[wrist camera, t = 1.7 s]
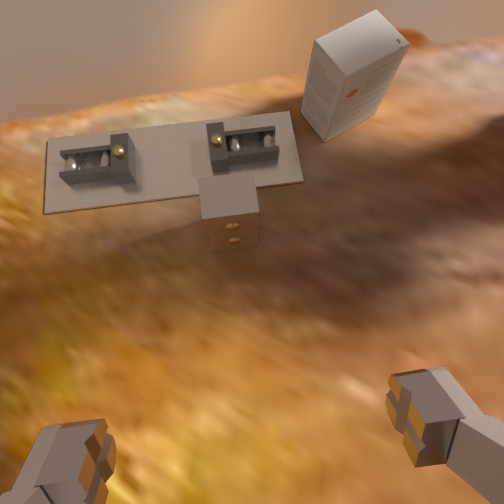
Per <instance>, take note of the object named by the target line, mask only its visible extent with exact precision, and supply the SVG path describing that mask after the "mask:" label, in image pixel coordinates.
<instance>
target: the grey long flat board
mask: <svg viewBox="0 0 504 504" xmlns="http://www.w3.org/2000/svg"><path fill="white" fill-rule="evenodd" d="M251 171H253V173H254V180H255V186H256V188H262V187H270V186H278V185H286V184H294V183H302V182H304V179H303V174H302V169H301V164H300V159H299V155H298V150H297V145H296V140H295V136H294V131H293V126H292V121H291V116H290V112H289V111H284V112H275V113H266V114H258V115H249V116H240V117H232V118H223V119H214V120H206V121H197V122H188V123H179V124H171V125H162V126H153V127H145V128H136V129H127V130H119V131H110V132H101V133H92V134H84V135H75V136H66V137H58V138H49V139H48V150H47V171H46V192H45V212H44V213H45V214H53V213H61V212H69V211H77V210H85V209H94V208H102V207H110V206H118V205H126V204H134V203H142V202H150V201H158V200H166V199H174V198H182V197H190V196H198V195H199V186H198V178H202V177H210V176H218V175H226V174H235V173H243V172H251Z"/></svg>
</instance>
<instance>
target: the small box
mask: <svg viewBox="0 0 504 504" xmlns="http://www.w3.org/2000/svg"><path fill="white" fill-rule="evenodd" d="M409 45H410V43H409V42H408V41H407V40H406V39H405V38H404V37H403V36H402V35H401V34H400V33H399V32H398V31H397V30H396V29H395V28H394V27H393V26H392V25H391V24H390V23H389V22H388V21H387V20H386V19H385V18H384V17H383V16H382V15H381V14H380V13H379V12H378V11H377V10H376V9H375V10H373V11H371V12H369V13H367V14H365V15H363V16H361V17H359V18H357V19H355V20H354V21H351V22H349V23H348V24H346V25H344V26H342V27H339V28H337V29H335V30H333V31H331V32H330V33H328V34H326V35H324V36H322V37H319V38H318V39H316V40H314V43H313V48H312V54H311V59H310V64H309V69H308V74H307V80H306V85H305V90H304V95H303V101H302V106H301V111H300V112H301V114H302V115H303V116H304V117H305V119H306V120H307V121H308V123H309V124H310V125H311V126H312V128H313V129H314V130H315V131H316V133H317V134H318V135H319V136H320V138H321V139H322V140H323V141H324V142H327V141H329V140H330V139H332V138H334V137H336V136H337V135H339V134H341V133H343V132H344V131H346V130H348V129H350V128H352V127H353V126H355V125H357V124H359V123H360V122H362V121H364V120H366V119H368V118H369V117H371V116H373V115H374V114H375V112H376V111H377V109H378V107H379V105H380V103H381V101H382V99H383V97H384V95H385V93H386V91H387V89H388V87H389V85H390V83H391V81H392V79H393V77H394V75H395V73H396V71H397V69H398V67H399V65H400V63H401V61H402V59H403V57H404V55H405V53H406V51H407V49H408V47H409Z"/></svg>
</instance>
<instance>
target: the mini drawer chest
mask: <svg viewBox="0 0 504 504" xmlns="http://www.w3.org/2000/svg"><path fill="white" fill-rule="evenodd" d="M198 186H199V196H200V206H201V215H202V221H203V224H204V226H205V229H206V232H207V235H208V238H209V240H210V243H211V246H212V249H213V251H216V250H223V249H231V248H239V247H246V246H254V245H258V231H259V214H260V211H259V205H258V198H257V192H256V186H255V180H254V173H253V171H251V172H243V173H235V174H226V175H218V176H210V177H202V178H198Z"/></svg>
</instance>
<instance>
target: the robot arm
mask: <svg viewBox="0 0 504 504" xmlns="http://www.w3.org/2000/svg"><path fill="white" fill-rule="evenodd" d="M388 385H389V386H390V388H391V390H390V391H389V392H388V393H387V394H386V407H387V412H388V415H389V418H390V420H391V422H392V424H393V426H394V428H395V429H396V430H398V431H399V432H400V433H402V434H403V435H404V438H403V445H404V447H405V449H406V451H407V453H408V455H409V457H410V459H411V460H412V462H413V464H414V466H415V468H416V467H423V466H430V465H438V464H445V463H447V464H446V465H447V466H448V467H449V468H450V469H451V470H453V471H454V472H455V473H456V474H457V475H458V476H460V477H461V478H462V479H463V480H464V481H466V482H467V483H468V484H469V485H470V486H472V487H473V488H474V489H475V490H476V491H477V492H479V493H480V494H481V495H482V496H483V497H485V498H486V499H487V500H488V501H489V502H491V503H492V504H504V422H502V421H500V420H499V419H497V418H495V417H493V416H492V415H484V414H483V413H482V411H481V410H480V409H479V408H478V406H477V405H476V404H475V403H474V402H473V400H472V399H471V398H470V397H469V396H468V394H467V393H466V392H465V391H464V390H463V388H462V387H461V386H460V385H459V383H458V382H457V381H456V380H455V379H454V377H453V376H452V375H451V374H450V373H449V371H448V370H447V369H446V368H444V367H443V366H442V367H435V368H429V369H420V370H414V371H407V372H401V373H395V374H391V375H390V376H389V380H388ZM107 428H108V425H107V423H106V421H105V419H95V420H87V421H79V422H71V423H63V424H56V425H49V426H45V427H44V428H43V429H42V430H41V431H40V433H39V435H38V437H37V439H36V441H35V443H34V445H33V447H32V449H31V451H30V453H29V455H28V457H27V459H26V461H25V463H24V465H23V467H22V469H21V471H20V473H19V475H18V477H17V479H16V481H15V483H14V485H13V487H12V489H11V491H8V492H4V493H3V494H2V495H1V496H0V504H105V503H106V500H107V496H108V492H109V491H108V489H107V486H106V484H105V483H106V481H107V480H108V479H109V478H110V476H111V475H112V474H113V472H114V468H115V464H116V451H117V450H116V444H115V440H114V438H113V436H111V435H109V434H108V433H106V432H107Z"/></svg>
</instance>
